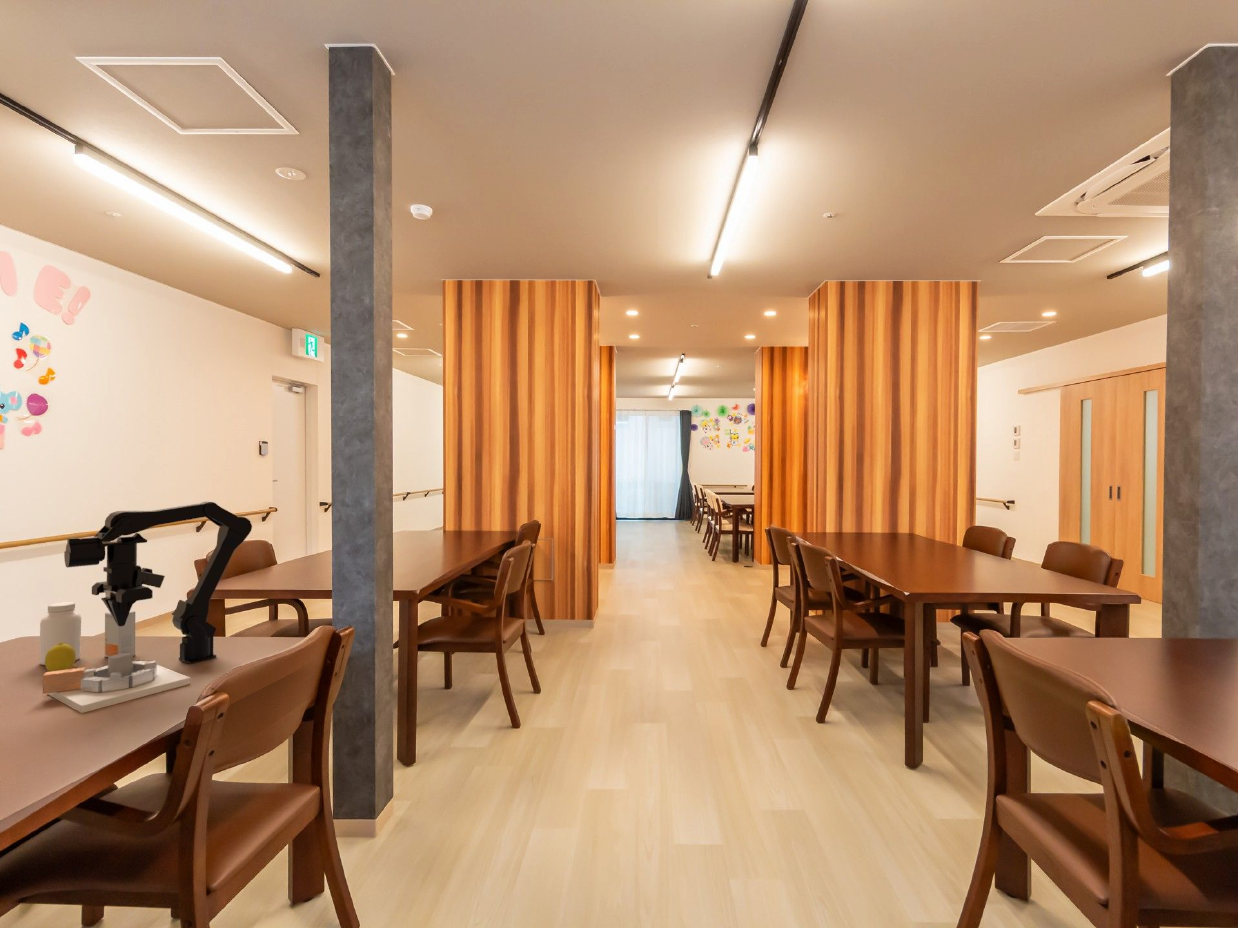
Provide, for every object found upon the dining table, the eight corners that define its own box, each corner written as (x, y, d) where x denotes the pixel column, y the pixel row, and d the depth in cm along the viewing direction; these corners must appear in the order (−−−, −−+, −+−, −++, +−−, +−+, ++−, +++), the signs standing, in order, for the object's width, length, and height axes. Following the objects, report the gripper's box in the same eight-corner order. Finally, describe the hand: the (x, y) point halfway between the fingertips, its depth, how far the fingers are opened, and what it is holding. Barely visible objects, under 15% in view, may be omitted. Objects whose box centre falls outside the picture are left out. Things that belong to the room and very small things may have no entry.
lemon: (56, 680, 145) (57, 646, 145) (38, 678, 146) (38, 645, 146) (81, 672, 151) (81, 640, 151) (63, 670, 152) (64, 638, 152)
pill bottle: (85, 659, 160) (86, 602, 161) (45, 668, 154) (45, 608, 154) (74, 654, 165) (75, 599, 165) (34, 662, 158) (35, 604, 158)
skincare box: (103, 657, 163) (104, 612, 163) (121, 652, 167) (121, 609, 167) (118, 659, 160) (118, 614, 161) (136, 655, 165) (136, 610, 165)
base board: (151, 668, 154) (152, 638, 154) (189, 683, 143) (190, 651, 143) (47, 693, 137) (47, 660, 137) (81, 712, 126) (81, 676, 126)
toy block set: (158, 668, 149) (158, 651, 149) (152, 684, 138) (152, 666, 138) (51, 683, 138) (51, 665, 138) (35, 701, 127) (35, 682, 127)
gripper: (177, 561, 151) (176, 624, 151) (144, 555, 161) (143, 614, 161) (122, 567, 142) (122, 634, 142) (91, 560, 151) (90, 623, 151)
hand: (121, 625), depth 149 cm, fingers closed
